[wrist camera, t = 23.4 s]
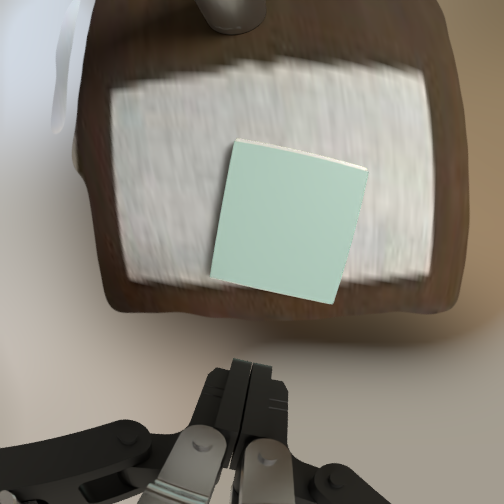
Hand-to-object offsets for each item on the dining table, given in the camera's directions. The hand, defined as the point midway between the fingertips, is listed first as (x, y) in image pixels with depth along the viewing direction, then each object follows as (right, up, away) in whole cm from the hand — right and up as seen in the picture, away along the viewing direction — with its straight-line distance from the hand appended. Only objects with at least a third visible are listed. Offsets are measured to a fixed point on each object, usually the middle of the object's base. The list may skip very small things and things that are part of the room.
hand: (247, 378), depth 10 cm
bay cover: (+5, +8, +26) cm, 28 cm away
